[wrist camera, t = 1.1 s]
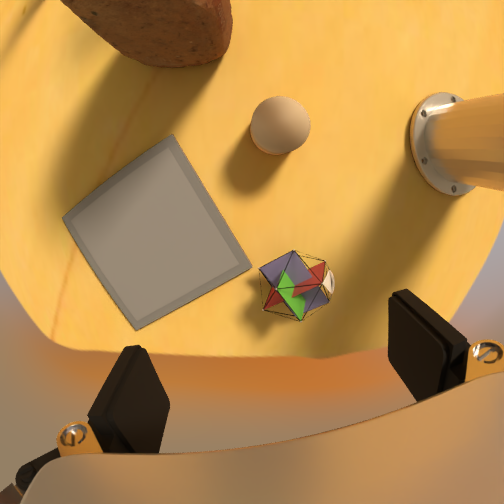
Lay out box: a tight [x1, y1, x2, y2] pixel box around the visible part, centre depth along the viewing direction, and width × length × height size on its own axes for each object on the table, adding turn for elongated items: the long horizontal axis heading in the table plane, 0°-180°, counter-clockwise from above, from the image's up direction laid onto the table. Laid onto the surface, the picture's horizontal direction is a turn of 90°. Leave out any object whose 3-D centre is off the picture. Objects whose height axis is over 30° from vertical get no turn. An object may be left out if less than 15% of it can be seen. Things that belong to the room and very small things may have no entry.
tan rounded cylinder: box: [250, 96, 310, 155], centre depth 26 cm, size 5×5×5 cm
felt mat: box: [62, 134, 252, 330], centre depth 31 cm, size 16×16×1 cm
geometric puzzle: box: [258, 249, 335, 322], centre depth 30 cm, size 7×7×8 cm
